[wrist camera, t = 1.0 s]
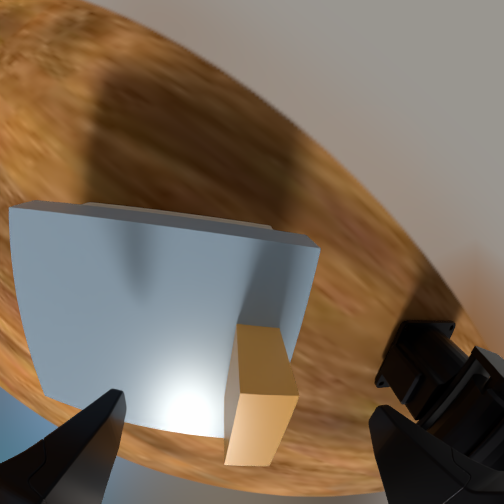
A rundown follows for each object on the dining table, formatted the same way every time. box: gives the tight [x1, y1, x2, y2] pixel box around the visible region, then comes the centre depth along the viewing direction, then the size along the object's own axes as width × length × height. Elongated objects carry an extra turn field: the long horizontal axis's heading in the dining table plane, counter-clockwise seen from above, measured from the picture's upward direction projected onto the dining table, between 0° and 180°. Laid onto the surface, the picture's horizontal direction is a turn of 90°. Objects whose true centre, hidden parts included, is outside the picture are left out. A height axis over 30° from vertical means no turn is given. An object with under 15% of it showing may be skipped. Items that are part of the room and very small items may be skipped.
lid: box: [9, 200, 321, 466], centre depth 9 cm, size 12×10×6 cm
